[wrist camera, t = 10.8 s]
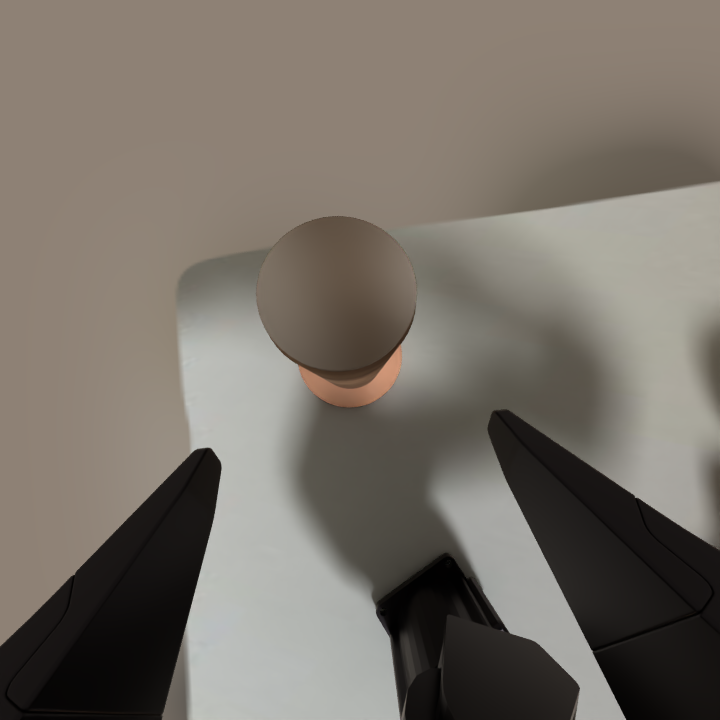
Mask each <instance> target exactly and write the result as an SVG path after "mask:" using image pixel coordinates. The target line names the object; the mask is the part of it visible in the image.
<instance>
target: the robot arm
mask: <svg viewBox="0 0 720 720" xmlns="http://www.w3.org/2000/svg"><path fill="white" fill-rule="evenodd" d="M488 434H489V437H490V439H491V442H492V445H493V447H494V450H495V453H496V455H497V458H498V460H499V463H500V466H501V468H502V471H503V474H504V476H505V478H506V481H507V483H508V485H509V487H510V489H511V491H512V493H513V495H514V497H515V499H516V501H517V503H518V505H519V507H520V509H521V511H522V513H523V515H524V517H525V519H526V521H527V523H528V525H529V527H530V529H531V531H532V533H533V535H534V537H535V539H536V541H537V543H538V545H539V547H540V549H541V551H542V553H543V555H544V557H545V559H546V561H547V563H548V565H549V567H550V568H551V570H552V572H553V574H554V576H555V578H556V580H557V582H558V584H559V586H560V588H561V590H562V592H563V594H564V596H565V598H566V600H567V602H568V604H569V606H570V608H571V610H572V612H573V614H574V616H575V618H576V620H577V622H578V624H579V626H580V628H581V630H582V632H583V634H584V636H585V638H586V640H587V642H588V644H589V646H590V648H591V650H593V654H594V656H595V658H596V660H597V662H598V664H599V666H600V668H601V670H602V672H603V674H604V676H605V678H606V680H607V682H608V684H609V686H610V688H611V690H612V692H613V694H614V696H615V698H616V700H617V702H618V704H619V706H620V708H621V710H622V712H623V714H624V716H625V718H626V720H720V550H718V549H716V548H715V547H713V546H711V545H710V544H708V543H707V542H705V541H703V540H702V539H700V538H699V537H697V536H695V535H694V534H692V533H690V532H689V531H687V530H686V529H684V528H682V527H681V526H679V525H678V524H676V523H675V522H673V521H672V520H670V519H669V518H667V517H666V516H664V515H663V514H661V513H660V512H658V511H657V510H655V509H654V508H652V507H651V506H649V505H648V504H646V503H645V502H643V501H642V500H640V499H639V498H635V496H634V495H633V494H631V493H630V492H628V491H627V490H625V489H624V488H622V487H621V486H619V485H618V484H616V483H615V482H614V481H612V480H611V479H609V478H608V477H606V476H605V475H603V474H602V473H600V472H599V471H597V470H596V469H594V468H593V467H591V466H590V465H588V464H587V463H585V462H584V461H583V460H581V459H580V458H578V457H577V456H575V455H574V454H572V453H571V452H569V451H568V450H566V449H565V448H563V447H562V446H560V445H559V444H557V443H556V442H554V441H553V440H552V439H550V438H549V437H547V436H546V435H544V434H543V433H541V432H540V431H538V430H537V429H535V428H534V427H532V426H531V425H529V424H528V423H526V422H525V421H523V420H522V419H521V418H519V417H518V416H516V415H515V414H513V413H512V412H510V411H509V410H506V409H502V410H495V411H493V412H492V414H491V418H490V421H489V424H488ZM220 476H221V462H220V460H219V459H218V457H217V456H216V454H215V453H214V452H213V450H212V449H211V448H201V449H197V450H195V451H194V452H192V453H191V454H190V456H189V457H188V458H187V459H186V460H185V461H184V462H183V463H182V464H181V465H180V466H179V467H178V468H177V469H176V470H175V471H174V472H173V473H172V474H171V475H170V476H169V477H168V478H167V479H166V480H165V481H164V482H163V484H161V485H160V486H159V487H158V488H157V489H156V490H155V492H153V493H152V494H151V495H150V497H149V498H148V499H147V500H146V501H145V502H144V503H143V504H142V505H141V506H140V507H139V508H138V509H137V510H136V511H135V512H134V513H133V514H132V515H131V516H130V517H129V518H128V519H127V520H126V521H125V522H124V523H123V524H122V525H121V526H120V527H119V528H118V529H117V530H116V531H115V532H114V533H113V534H112V536H110V537H109V539H108V540H107V541H106V542H105V543H104V544H103V545H102V546H101V547H100V548H99V549H98V550H97V551H96V552H95V553H94V554H93V555H92V556H91V557H90V558H89V559H88V560H87V561H86V562H85V563H84V564H83V565H82V566H81V567H80V568H79V569H78V570H77V571H76V573H75V575H73V576H71V577H70V578H69V579H68V580H67V581H66V583H64V585H63V586H61V588H60V589H59V590H58V591H57V592H56V593H55V594H54V595H53V596H52V597H51V598H50V599H49V600H48V601H47V602H46V603H45V604H44V605H43V606H42V607H41V608H40V609H39V610H38V611H37V612H36V613H35V614H34V615H33V616H32V617H31V618H30V619H29V620H28V621H27V622H25V623H24V624H23V625H22V626H21V627H20V628H19V629H18V630H17V631H16V632H15V633H14V634H13V635H12V636H11V637H10V638H9V639H8V640H7V641H6V642H5V643H3V644H2V645H1V646H0V720H162V714H163V712H164V708H165V704H166V700H167V696H168V693H169V688H170V685H171V681H172V677H173V673H174V670H175V666H176V662H177V658H178V654H179V651H180V647H181V643H182V639H183V635H184V631H185V628H186V624H187V620H188V616H189V612H190V608H191V605H192V601H193V597H194V593H195V589H196V585H197V581H198V578H199V574H200V570H201V566H202V562H203V558H204V555H205V551H206V547H207V543H208V539H209V535H210V532H211V528H212V524H213V519H214V514H215V509H216V502H217V495H218V489H219V482H220ZM447 560H450V563H449V564H448V565H446V564H445V562H446V561H447ZM381 608H385V609H386V611H384V612H382V611H380V610H381ZM376 614H377V617H378V618H379V620H380V622H381V623H382V625H383V627H384V629H385V630H386V632H387V634H388V635H389V637H390V642H391V649H392V657H393V665H394V673H395V681H396V689H397V697H398V704H399V712H400V720H575V717H576V711H577V704H578V697H579V691H580V688H579V685H578V684H577V683H576V681H575V680H574V679H573V678H572V677H571V676H570V675H569V674H568V673H567V672H566V671H565V670H564V669H563V668H562V667H561V666H560V665H559V664H558V663H557V662H556V661H555V660H554V659H553V658H552V657H551V656H550V655H549V654H548V653H547V652H546V651H545V650H544V649H543V648H542V647H541V646H540V645H539V644H537V643H536V642H534V641H532V640H529V639H526V638H523V637H519V636H516V635H513V634H510V633H509V631H508V630H507V628H506V627H505V625H504V624H503V622H502V620H501V619H500V617H499V616H498V614H497V613H496V611H495V610H494V608H493V606H492V605H491V603H490V602H489V600H488V599H487V597H486V596H485V594H484V593H483V591H482V589H481V588H480V586H479V585H478V583H477V582H476V580H475V579H474V578H471V577H469V578H468V579H467V578H466V577H465V575H464V574H463V572H462V571H461V569H460V568H459V566H458V564H457V563H456V561H455V560H454V558H453V557H452V556H451V554H448V553H445V554H443V555H441V556H440V557H438V558H437V559H436V560H434V561H433V562H432V563H430V564H429V565H428V566H426V567H425V568H423V569H422V570H421V571H419V572H418V573H417V574H415V575H414V576H412V577H411V578H410V579H408V580H407V581H406V582H404V583H403V584H402V585H400V586H399V587H397V588H396V589H395V590H393V591H392V592H391V593H389V594H388V595H387V596H385V597H384V598H382V599H381V600H380V601H379V602H378V603H377V605H376Z"/></svg>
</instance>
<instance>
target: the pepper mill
mask: <svg viewBox="0 0 720 720" xmlns="http://www.w3.org/2000/svg"><path fill="white" fill-rule="evenodd" d="M256 296H257V306H258V311H259V315H260V318H261V320H262V323H263V325H264V327H265V329H266V331H267V333H268V334H269V336H270V338H271V340H272V341H273V342H274V344H275V345H276V347H277V348H278V349H279V350H280V351H281V352H282V353H283V354H284V355H285V356H286V357H288V358H289V359H290V360H291V361H293V362H295V363H296V364H298V365H300V366H301V367H303V368H305V369H307V370H309V371H310V372H312V373H314V374H316V375H318V376H319V377H321V378H323V379H325V380H327V381H329V382H330V383H332V384H334V385H336V386H338V387H341V388H346V389H354V388H359V387H362V386H365V385H366V384H368V383H370V382H371V381H372V380H373V379H374V378H375V377H376V376H377V374H378V373H379V372H380V370H381V369H382V368H383V367H384V365H385V364H386V363H387V361H388V360H389V359H390V357H391V356H392V355H393V354H394V352H395V351H396V350H397V348H398V347H399V346H400V344H401V343H402V342H403V340H404V339H405V337H406V335H407V334H408V332H409V330H410V327H411V325H412V322H413V318H414V314H415V308H416V299H417V285H416V278H415V274H414V271H413V267H412V265H411V263H410V260H409V258H408V256H407V255H406V253H405V252H404V250H403V249H402V247H401V246H400V245H399V244H398V242H397V241H396V240H395V239H394V238H392V237H391V236H390V235H389V234H388V233H386V232H385V231H384V230H382V229H381V228H379V227H377V226H375V225H373V224H371V223H369V222H366V221H364V220H360V219H356V218H351V217H343V216H342V217H341V216H339V217H338V216H337V217H336V216H335V217H334V216H333V217H323V218H319V219H315V220H312V221H309V222H306V223H304V224H302V225H300V226H298V227H296V228H294V229H293V230H291V231H290V232H288V233H287V234H286V235H284V236H283V237H282V238H281V239H280V240H279V241H278V242H277V243H276V244H275V245H274V246H273V248H272V249H271V250H270V252H269V253H268V255H267V256H266V258H265V260H264V262H263V264H262V267H261V270H260V273H259V277H258V282H257V292H256Z"/></svg>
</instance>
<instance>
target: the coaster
mask: <svg viewBox="0 0 720 720" xmlns="http://www.w3.org/2000/svg"><path fill="white" fill-rule="evenodd" d="M401 361H402V351H401V344H400V346H399V347H398V348H397V350H396V351H395V352H394V354H393V355H392V356H391V357H390V359H389V360H388V361H387V363H386V364H385V365H384V367H383V368H382V369H381V370H380V372H379V373H378V374H377V376H376V377H375V378H374V379H373V380H372V381H371V382H370V383H368V384H366V385H365V386H362V387H359V388H354V389H346V388H341V387H338V386H336V385H334V384H332V383H330V382H329V381H327V380H325V379H323V378H321V377H319V376H318V375H316V374H314V373H312V372H310V371H309V370H307V369H305V368H303V367H301V366H300V365H299V370H300V373H301V376H302V378H303V380H304V382H305V383H306V385H307V386H308V388H309V389H310V390H311V391H312V392H313V393H314V394H315V395H316V396H318V397H319V398H320V399H322V400H323V401H325V402H327V403H330V404H332V405H336V406H340V407H360V406H363V405H367V404H369V403H372V402H374V401H375V400H377V399H379V398H380V397H381V396H383V395H384V394H385V393H386V392H387V391H388V390H389V389H390V388H391V386H392V385H393V384H394V382H395V380H396V378H397V376H398V374H399V371H400V367H401Z"/></svg>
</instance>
